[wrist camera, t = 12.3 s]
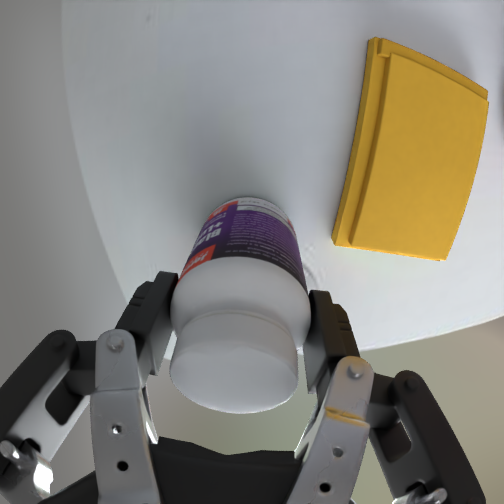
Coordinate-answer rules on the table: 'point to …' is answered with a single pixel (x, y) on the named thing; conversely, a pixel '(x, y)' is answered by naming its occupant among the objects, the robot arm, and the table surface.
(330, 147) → the table surface
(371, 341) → the table surface
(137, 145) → the table surface
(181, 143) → the table surface
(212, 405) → the pill bottle
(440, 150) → the yellow flat block
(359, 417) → the robot arm
